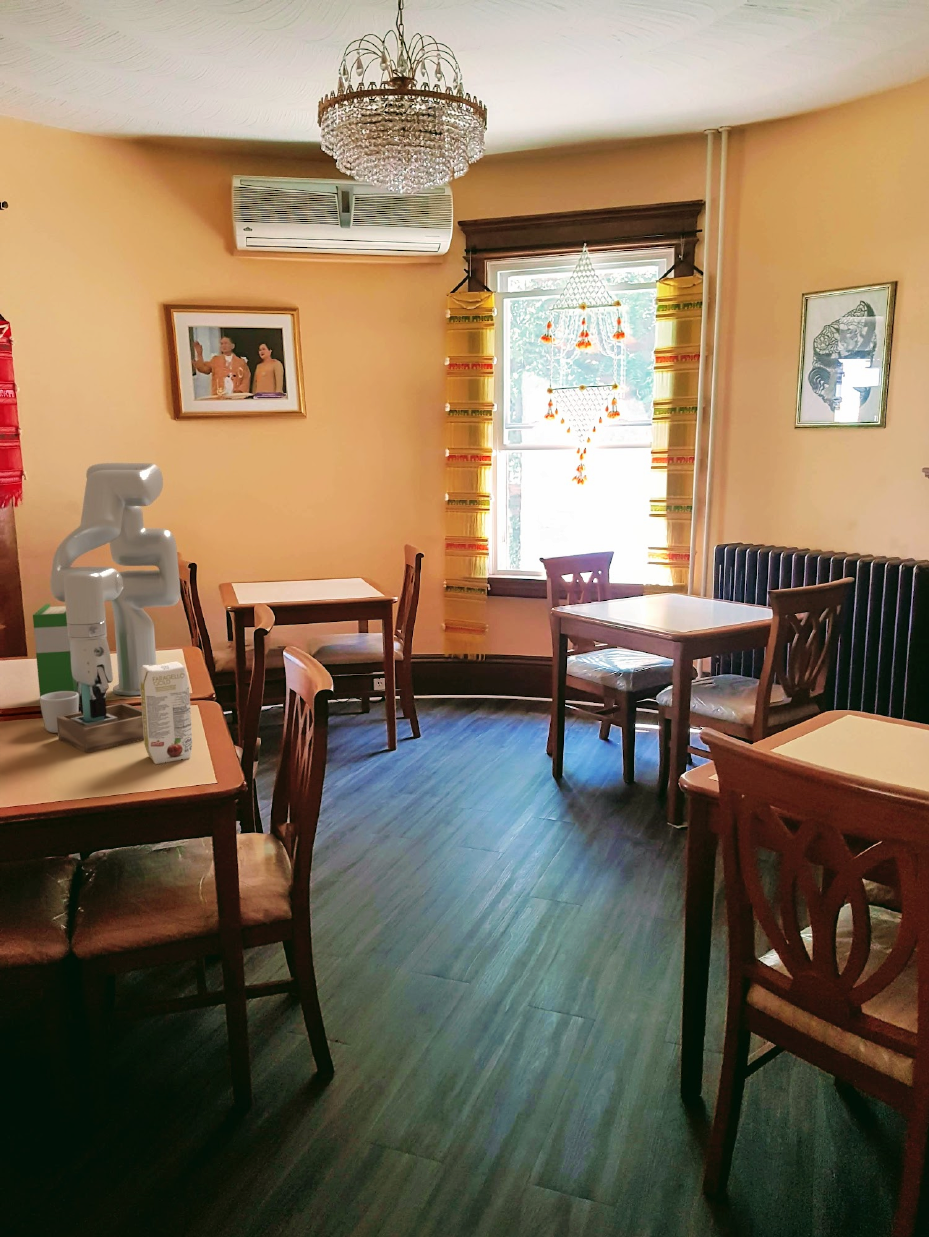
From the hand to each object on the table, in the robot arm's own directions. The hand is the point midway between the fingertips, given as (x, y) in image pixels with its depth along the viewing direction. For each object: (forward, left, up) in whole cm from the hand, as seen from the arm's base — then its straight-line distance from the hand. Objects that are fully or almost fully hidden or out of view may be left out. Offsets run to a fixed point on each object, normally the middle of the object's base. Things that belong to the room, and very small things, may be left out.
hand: (93, 713), depth 185 cm
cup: (+2, -15, -6) cm, 16 cm away
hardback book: (-8, -35, -6) cm, 36 cm away
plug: (0, 0, -3) cm, 3 cm away
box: (-3, 0, -6) cm, 6 cm away
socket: (0, 0, -6) cm, 6 cm away
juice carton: (-5, +22, -6) cm, 23 cm away
